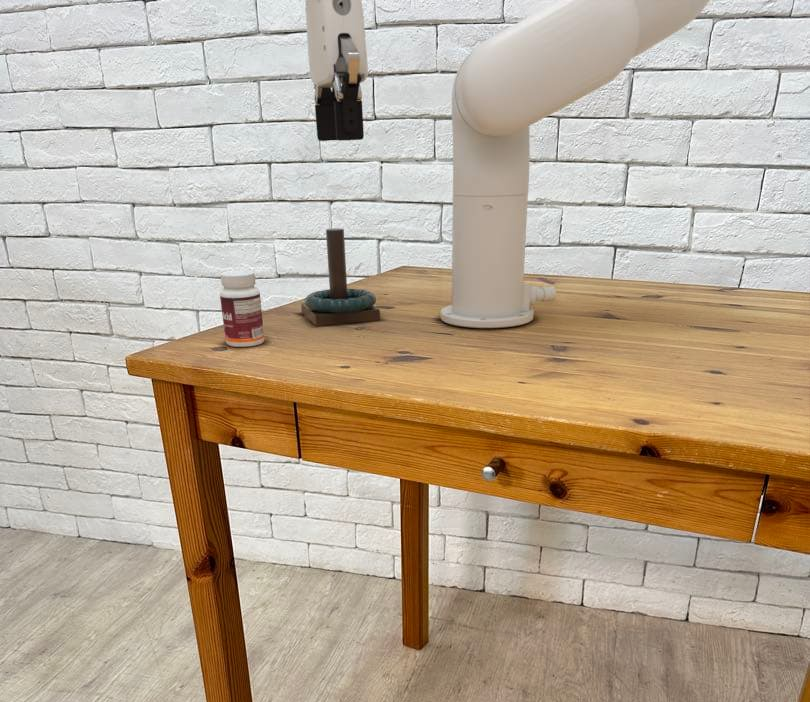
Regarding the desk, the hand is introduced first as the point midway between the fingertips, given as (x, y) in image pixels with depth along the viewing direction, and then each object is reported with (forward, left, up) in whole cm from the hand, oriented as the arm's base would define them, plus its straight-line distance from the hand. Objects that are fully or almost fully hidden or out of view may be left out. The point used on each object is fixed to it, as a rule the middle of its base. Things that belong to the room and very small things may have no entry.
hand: (339, 140), depth 94 cm
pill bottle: (+15, +6, -22) cm, 28 cm away
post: (0, -4, -22) cm, 23 cm away
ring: (0, -3, -20) cm, 20 cm away
